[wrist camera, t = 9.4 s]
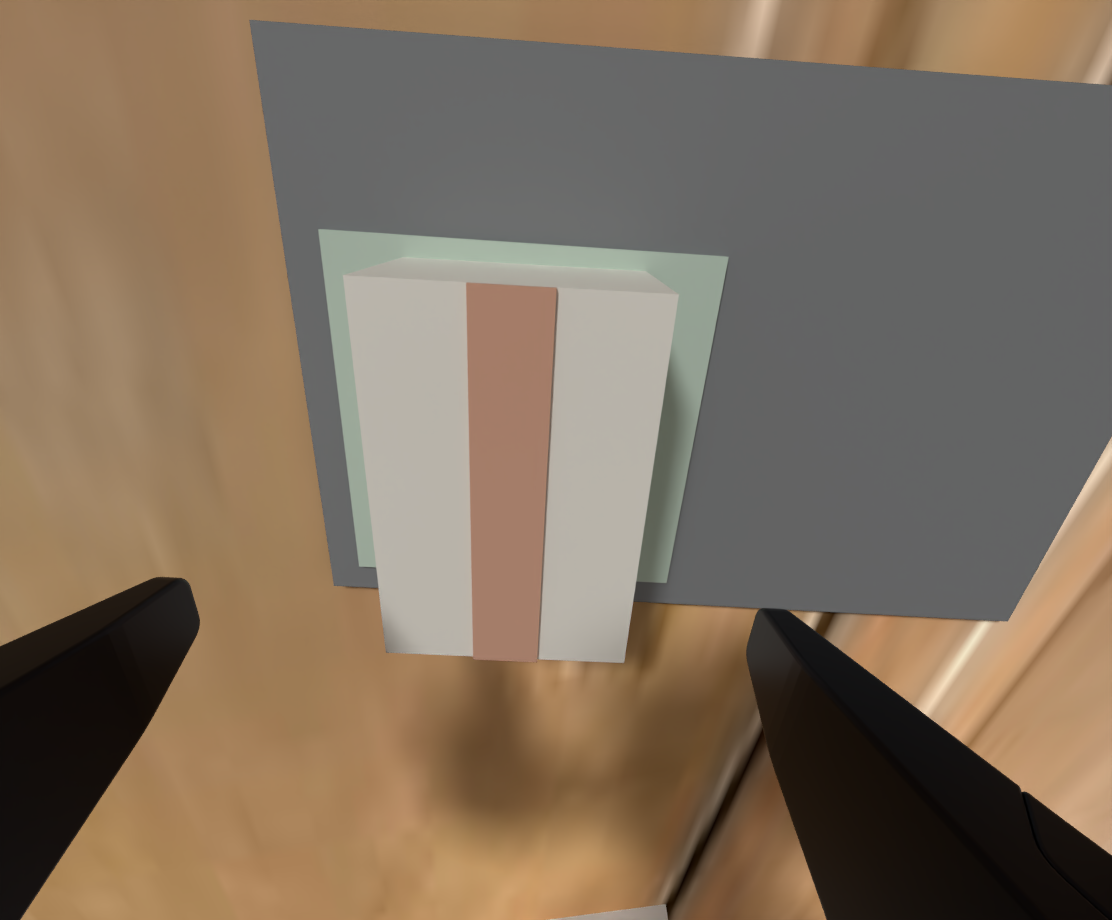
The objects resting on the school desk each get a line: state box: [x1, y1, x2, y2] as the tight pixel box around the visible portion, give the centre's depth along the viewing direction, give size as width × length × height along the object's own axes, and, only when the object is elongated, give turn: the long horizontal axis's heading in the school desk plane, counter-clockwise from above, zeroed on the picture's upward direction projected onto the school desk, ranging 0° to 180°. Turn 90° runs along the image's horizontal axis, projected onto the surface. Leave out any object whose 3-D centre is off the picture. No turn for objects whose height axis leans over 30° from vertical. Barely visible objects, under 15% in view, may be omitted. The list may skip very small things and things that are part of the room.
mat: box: [250, 20, 1112, 621], centre depth 15 cm, size 23×15×1 cm, turn 86°
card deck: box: [343, 257, 679, 663], centre depth 13 cm, size 9×6×4 cm, turn 177°
